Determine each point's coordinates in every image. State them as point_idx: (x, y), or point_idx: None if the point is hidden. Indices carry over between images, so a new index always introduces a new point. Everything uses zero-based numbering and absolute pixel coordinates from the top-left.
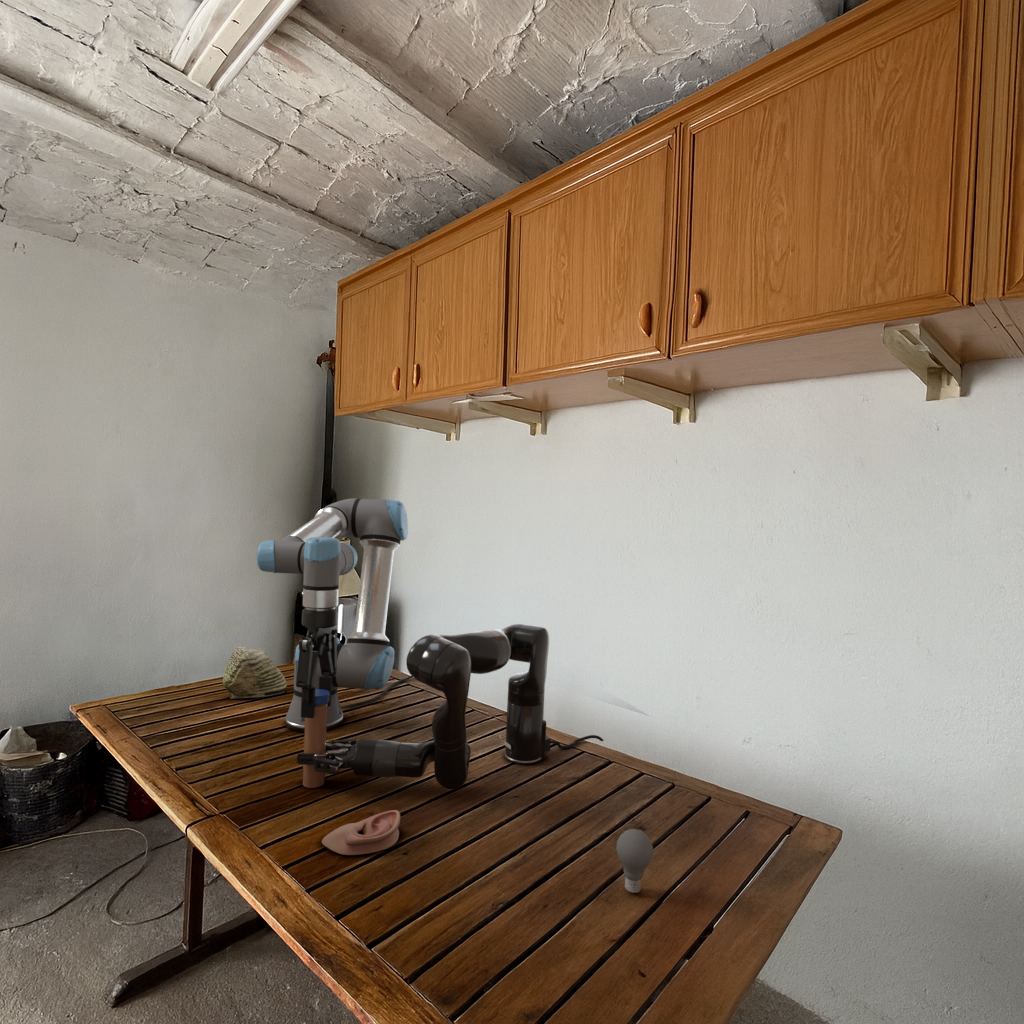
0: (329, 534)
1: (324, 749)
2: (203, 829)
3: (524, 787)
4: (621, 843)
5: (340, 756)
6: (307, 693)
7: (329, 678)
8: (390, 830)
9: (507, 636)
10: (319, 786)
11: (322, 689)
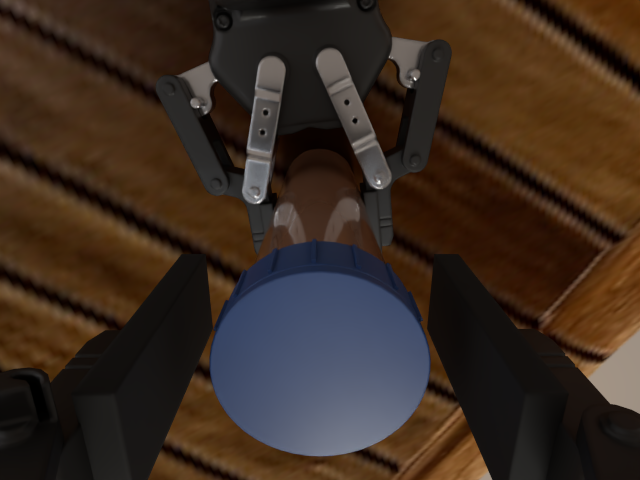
0: None
1: (322, 172)
2: (621, 320)
3: None
4: None
5: (368, 67)
6: (596, 396)
7: (118, 399)
8: None
9: None
10: (337, 153)
11: (215, 369)
